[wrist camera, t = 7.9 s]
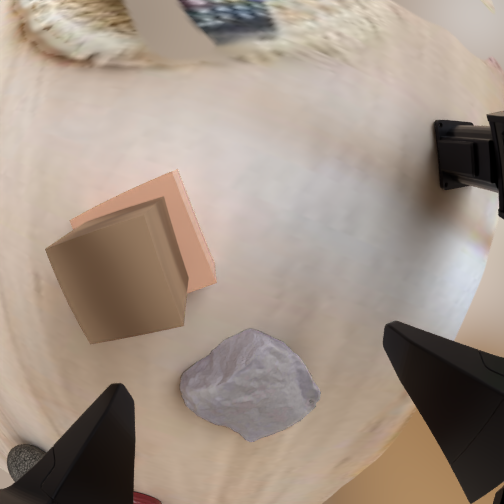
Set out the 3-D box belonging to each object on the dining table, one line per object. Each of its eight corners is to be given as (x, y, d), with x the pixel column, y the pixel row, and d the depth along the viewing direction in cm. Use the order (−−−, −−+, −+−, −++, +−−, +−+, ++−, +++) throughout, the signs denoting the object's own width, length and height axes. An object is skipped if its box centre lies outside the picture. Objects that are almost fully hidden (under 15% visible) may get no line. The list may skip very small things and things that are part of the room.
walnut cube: (163, 196, 14) (144, 215, 10) (188, 277, 16) (183, 325, 11) (86, 221, 14) (45, 249, 9) (115, 296, 16) (90, 344, 11)
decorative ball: (43, 439, 24) (29, 487, 15) (74, 469, 28) (66, 512, 18) (6, 428, 23) (-10, 468, 14) (36, 459, 26) (26, 496, 17)
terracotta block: (178, 168, 17) (171, 171, 14) (214, 261, 20) (216, 282, 16) (90, 209, 17) (69, 220, 14) (130, 292, 19) (119, 317, 16)
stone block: (249, 304, 23) (169, 376, 22) (272, 331, 19) (175, 413, 18) (314, 368, 28) (248, 424, 27) (338, 393, 24) (263, 453, 22)
